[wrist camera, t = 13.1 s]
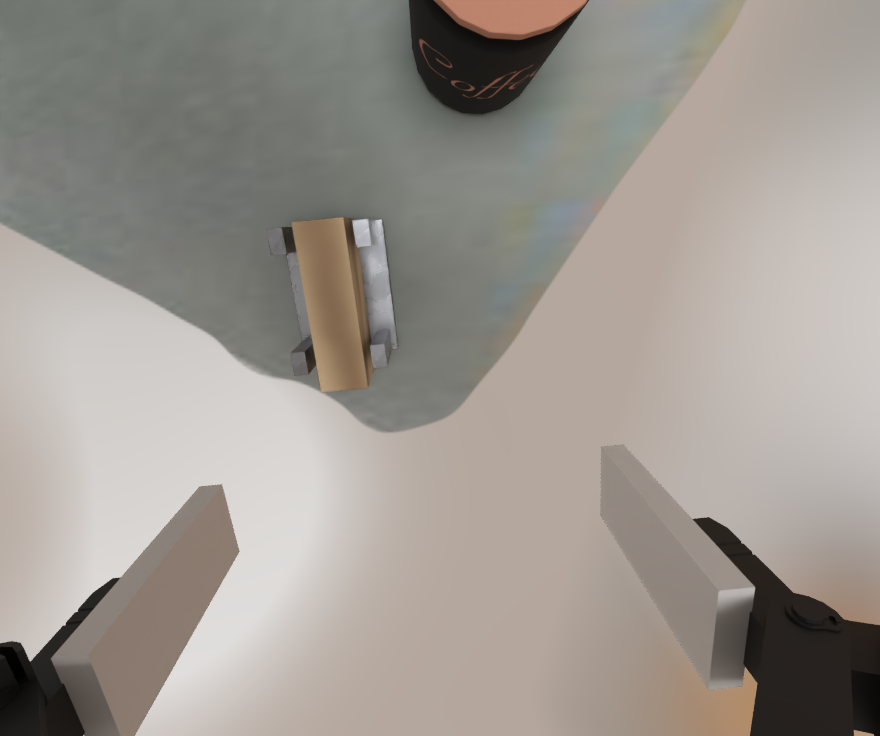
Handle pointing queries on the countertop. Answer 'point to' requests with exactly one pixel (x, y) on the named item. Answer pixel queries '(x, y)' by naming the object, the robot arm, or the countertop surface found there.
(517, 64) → the coffee jar
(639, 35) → the countertop surface
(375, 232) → the bracket
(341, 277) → the block
